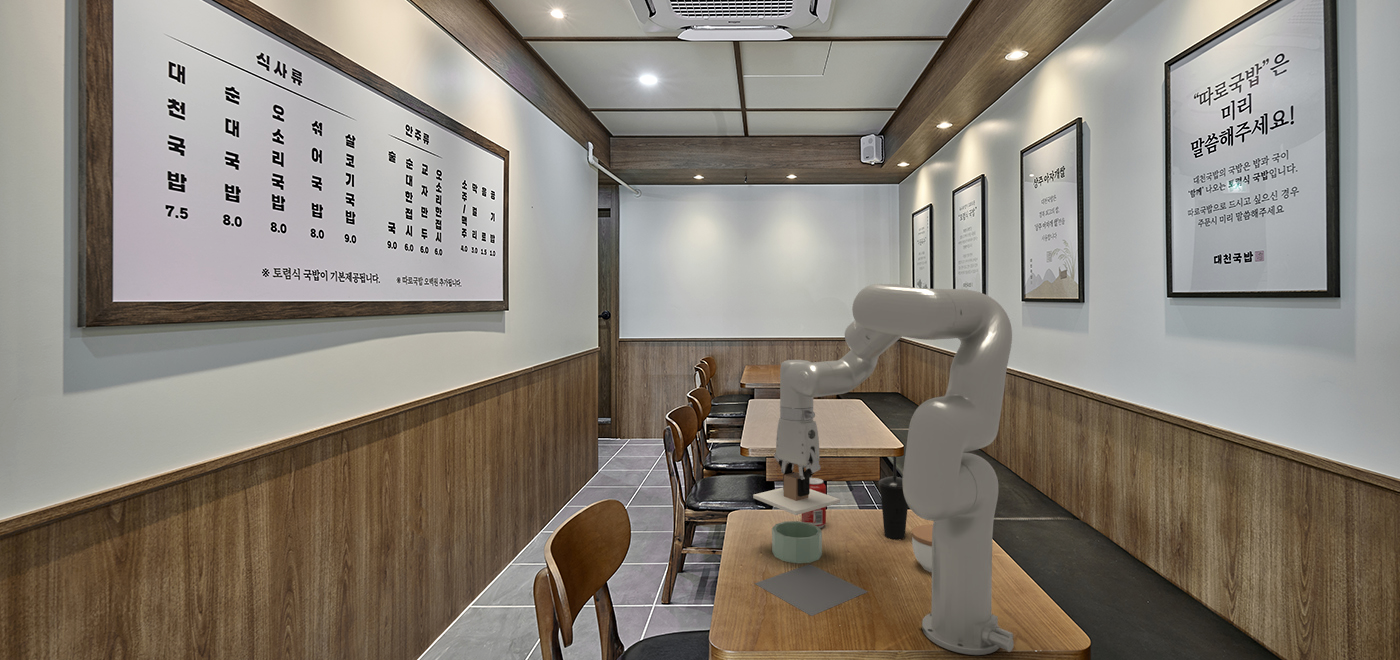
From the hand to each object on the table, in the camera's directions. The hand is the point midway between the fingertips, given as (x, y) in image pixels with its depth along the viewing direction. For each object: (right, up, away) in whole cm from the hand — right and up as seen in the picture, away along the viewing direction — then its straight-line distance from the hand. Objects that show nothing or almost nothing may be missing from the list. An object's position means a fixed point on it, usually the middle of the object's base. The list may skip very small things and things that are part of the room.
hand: (796, 491), depth 136 cm
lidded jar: (+30, -15, -7) cm, 34 cm away
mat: (0, -15, -17) cm, 23 cm away
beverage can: (+8, -14, +19) cm, 25 cm away
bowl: (0, -15, 0) cm, 15 cm away
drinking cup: (+26, -14, +12) cm, 32 cm away
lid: (0, -2, 0) cm, 2 cm away
